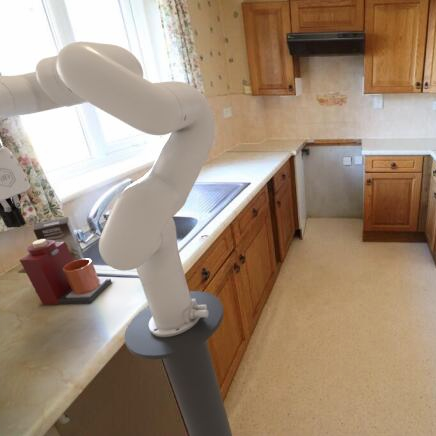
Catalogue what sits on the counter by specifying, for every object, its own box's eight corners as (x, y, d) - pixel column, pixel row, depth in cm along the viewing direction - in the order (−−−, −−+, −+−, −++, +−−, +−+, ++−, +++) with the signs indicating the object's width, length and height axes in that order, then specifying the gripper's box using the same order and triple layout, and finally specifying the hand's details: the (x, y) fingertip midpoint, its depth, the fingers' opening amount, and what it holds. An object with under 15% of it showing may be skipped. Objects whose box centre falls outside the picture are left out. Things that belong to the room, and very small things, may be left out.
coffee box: (51, 272, 109) (31, 230, 102) (53, 264, 114) (34, 223, 107) (84, 263, 113) (66, 222, 106) (84, 255, 118) (68, 216, 111)
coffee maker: (112, 282, 102) (95, 241, 96) (90, 303, 93) (71, 259, 86) (83, 283, 102) (65, 242, 96) (59, 304, 93) (37, 260, 87)
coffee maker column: (85, 283, 102) (64, 236, 95) (61, 304, 93) (36, 253, 86) (66, 283, 102) (45, 236, 95) (41, 304, 93) (14, 254, 86)
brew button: (50, 243, 92) (48, 238, 91) (42, 248, 89) (39, 243, 89) (40, 243, 92) (38, 238, 91) (31, 249, 89) (29, 244, 89)
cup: (105, 280, 100) (96, 258, 96) (90, 294, 93) (80, 271, 90) (83, 280, 100) (74, 258, 96) (67, 294, 94) (56, 271, 90)
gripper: (-45, 153, 59) (2, 241, 66) (25, 137, 72) (58, 212, 80) (-85, 154, 59) (-33, 242, 67) (-7, 138, 72) (28, 213, 80)
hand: (16, 225), depth 73 cm, fingers closed
